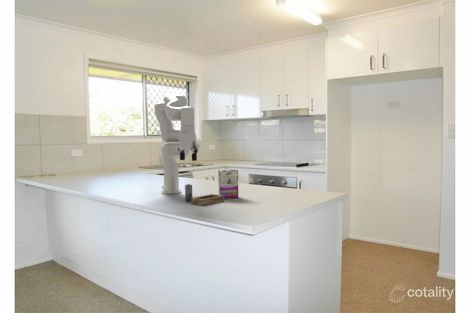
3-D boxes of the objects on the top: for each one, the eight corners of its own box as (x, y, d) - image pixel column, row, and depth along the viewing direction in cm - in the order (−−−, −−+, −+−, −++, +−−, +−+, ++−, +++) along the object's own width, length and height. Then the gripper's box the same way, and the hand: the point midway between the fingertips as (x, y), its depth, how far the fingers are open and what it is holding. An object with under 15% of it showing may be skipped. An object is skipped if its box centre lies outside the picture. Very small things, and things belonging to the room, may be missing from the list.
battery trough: (191, 203, 184) (191, 198, 183) (212, 199, 196) (212, 194, 196) (202, 205, 178) (202, 200, 178) (224, 200, 190) (224, 195, 190)
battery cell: (183, 201, 191) (183, 184, 190) (189, 200, 194) (188, 183, 193) (188, 202, 188) (188, 184, 188) (194, 201, 191) (193, 183, 191)
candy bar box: (236, 196, 205) (236, 169, 204) (238, 197, 200) (238, 169, 199) (218, 197, 202) (217, 169, 201) (220, 198, 197) (219, 170, 196)
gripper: (172, 129, 191) (172, 160, 192) (193, 128, 180) (194, 161, 181) (182, 129, 197) (183, 159, 198) (203, 129, 186) (204, 160, 187)
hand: (188, 160), depth 190 cm, fingers open, 9 cm apart
